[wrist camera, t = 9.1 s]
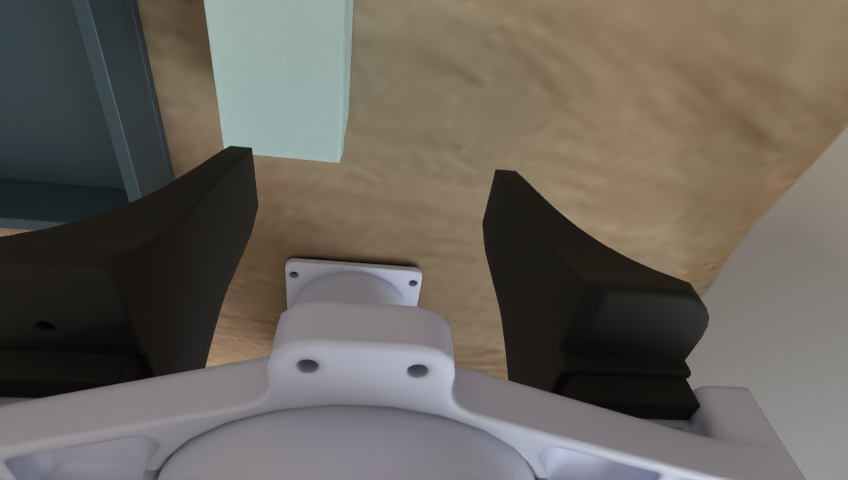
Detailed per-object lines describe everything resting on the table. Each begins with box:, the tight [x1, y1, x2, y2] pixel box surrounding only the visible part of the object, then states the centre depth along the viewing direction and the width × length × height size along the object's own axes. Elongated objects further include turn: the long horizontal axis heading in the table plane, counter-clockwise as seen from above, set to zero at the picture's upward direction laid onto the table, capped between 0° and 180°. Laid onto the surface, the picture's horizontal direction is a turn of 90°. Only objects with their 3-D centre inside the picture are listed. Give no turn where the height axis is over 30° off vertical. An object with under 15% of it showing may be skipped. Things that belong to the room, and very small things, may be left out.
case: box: [204, 0, 353, 163], centre depth 19 cm, size 8×5×4 cm, turn 172°
